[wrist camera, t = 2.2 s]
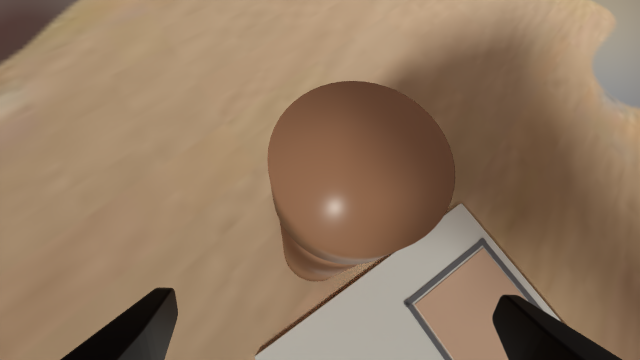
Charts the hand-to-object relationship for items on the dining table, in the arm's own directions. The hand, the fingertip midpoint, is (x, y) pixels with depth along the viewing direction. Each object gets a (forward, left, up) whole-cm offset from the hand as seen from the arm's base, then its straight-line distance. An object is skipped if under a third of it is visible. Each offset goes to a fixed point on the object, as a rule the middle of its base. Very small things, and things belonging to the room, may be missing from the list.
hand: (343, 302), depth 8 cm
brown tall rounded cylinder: (+2, -2, -10) cm, 11 cm away
